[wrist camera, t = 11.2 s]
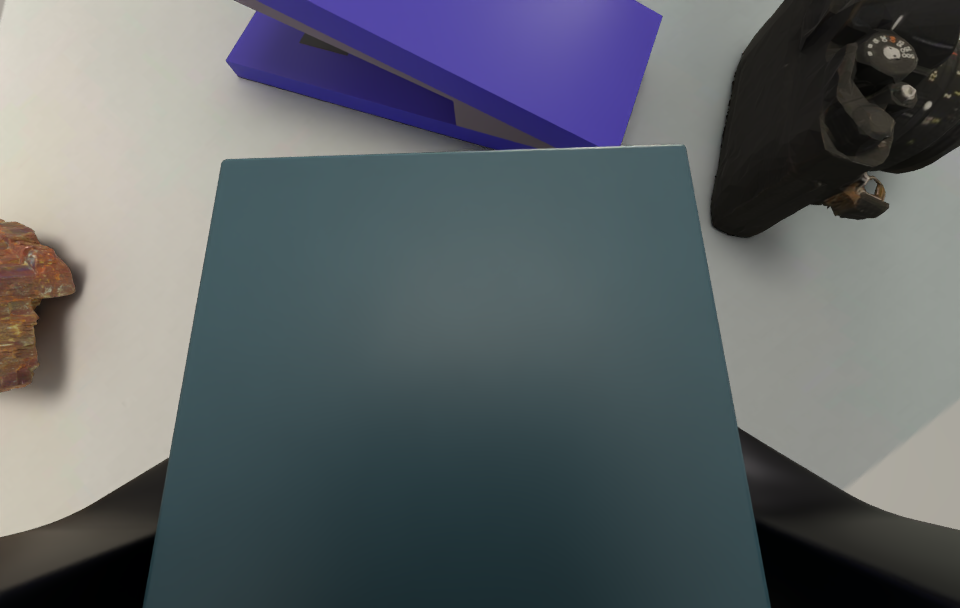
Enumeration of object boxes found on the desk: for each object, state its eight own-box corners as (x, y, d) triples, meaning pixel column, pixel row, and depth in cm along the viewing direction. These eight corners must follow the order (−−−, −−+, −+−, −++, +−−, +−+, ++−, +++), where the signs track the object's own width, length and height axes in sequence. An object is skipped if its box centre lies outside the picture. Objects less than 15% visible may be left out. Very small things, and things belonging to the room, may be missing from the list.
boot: (547, 463, 15) (825, 810, 3) (417, 465, 15) (88, 811, 3) (534, 247, 18) (646, -114, 5) (422, 250, 18) (258, -96, 5)
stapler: (299, -26, 29) (205, -233, 19) (641, 59, 26) (729, -133, 16) (231, 86, 26) (85, -87, 17) (601, 192, 24) (678, 58, 14)
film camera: (919, 262, 22) (1262, 161, 12) (717, 264, 22) (895, 168, 12) (848, 33, 26) (1061, -177, 16) (678, 38, 26) (788, -167, 17)
